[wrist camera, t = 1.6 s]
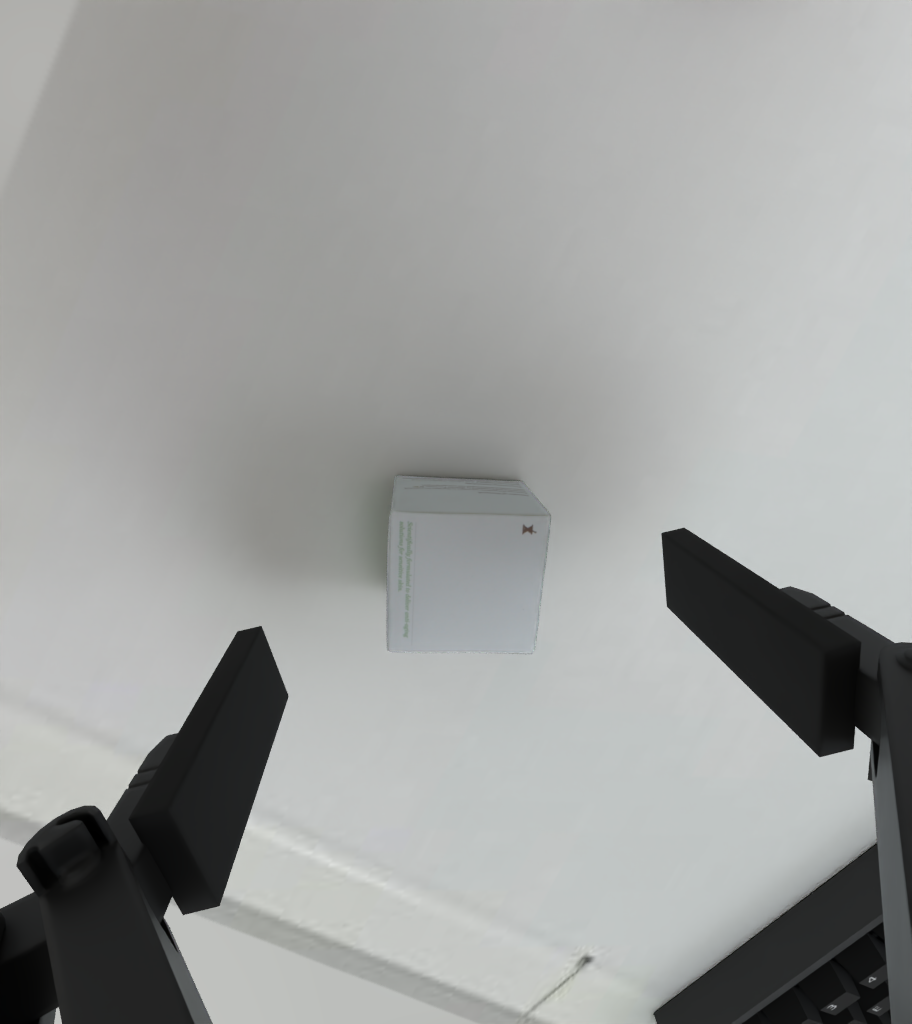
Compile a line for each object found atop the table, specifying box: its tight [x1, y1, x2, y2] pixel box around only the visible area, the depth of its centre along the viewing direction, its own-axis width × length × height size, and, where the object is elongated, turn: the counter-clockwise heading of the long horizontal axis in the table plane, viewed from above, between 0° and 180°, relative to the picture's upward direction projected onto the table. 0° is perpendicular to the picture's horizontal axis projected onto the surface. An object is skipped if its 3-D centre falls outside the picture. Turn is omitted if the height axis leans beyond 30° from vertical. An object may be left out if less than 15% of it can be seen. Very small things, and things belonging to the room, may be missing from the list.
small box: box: [387, 475, 551, 654], centre depth 20 cm, size 6×6×5 cm
